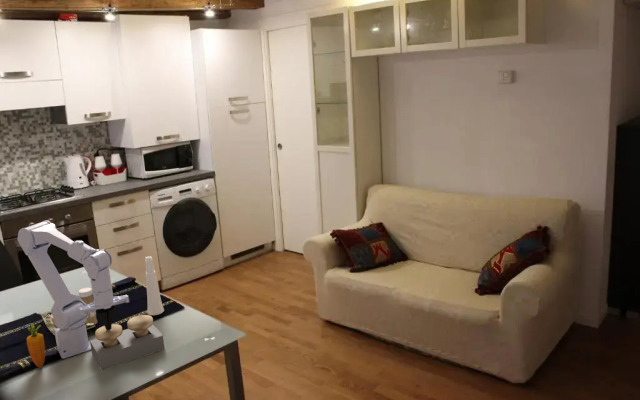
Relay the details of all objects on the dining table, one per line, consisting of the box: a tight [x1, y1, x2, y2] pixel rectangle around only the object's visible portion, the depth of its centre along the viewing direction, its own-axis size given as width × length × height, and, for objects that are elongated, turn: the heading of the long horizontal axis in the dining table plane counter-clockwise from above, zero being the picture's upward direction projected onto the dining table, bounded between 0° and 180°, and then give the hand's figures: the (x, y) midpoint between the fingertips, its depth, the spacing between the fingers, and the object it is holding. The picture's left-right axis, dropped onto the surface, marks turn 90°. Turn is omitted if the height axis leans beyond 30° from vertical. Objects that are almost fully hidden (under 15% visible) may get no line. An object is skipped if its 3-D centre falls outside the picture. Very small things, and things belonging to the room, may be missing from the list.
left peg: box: [94, 323, 123, 349], centre depth 177 cm, size 8×8×6 cm
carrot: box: [26, 323, 46, 369], centre depth 172 cm, size 5×5×15 cm
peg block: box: [89, 324, 166, 371], centre depth 181 cm, size 20×12×5 cm, turn 125°
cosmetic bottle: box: [144, 255, 165, 316], centre depth 206 cm, size 6×6×22 cm
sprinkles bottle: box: [78, 287, 98, 325], centre depth 200 cm, size 5×5×13 cm
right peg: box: [126, 314, 154, 338], centre depth 183 cm, size 8×8×6 cm
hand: (108, 328), depth 176 cm, fingers closed
